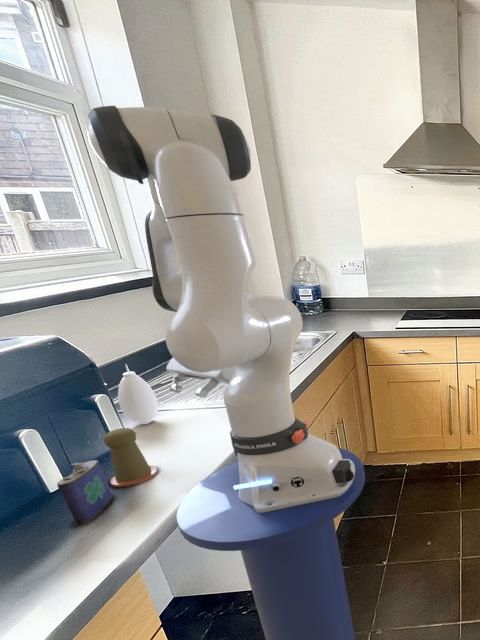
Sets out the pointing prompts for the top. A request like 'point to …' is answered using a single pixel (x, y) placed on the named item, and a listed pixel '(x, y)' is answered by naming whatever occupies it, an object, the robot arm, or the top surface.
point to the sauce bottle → (137, 398)
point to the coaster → (137, 481)
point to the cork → (126, 455)
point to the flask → (85, 491)
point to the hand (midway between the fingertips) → (186, 394)
